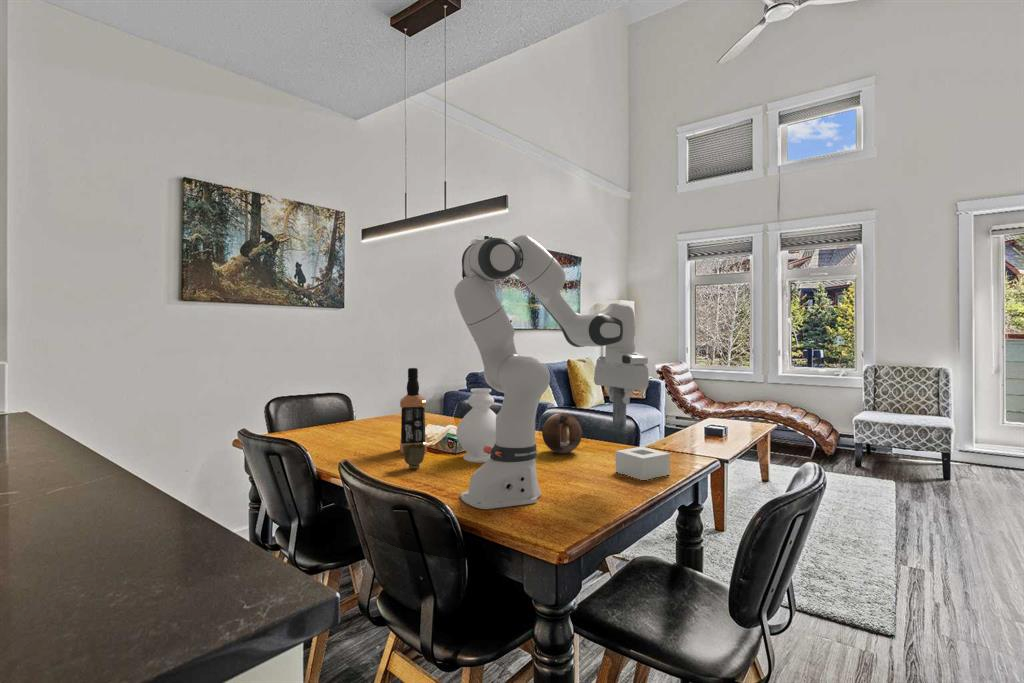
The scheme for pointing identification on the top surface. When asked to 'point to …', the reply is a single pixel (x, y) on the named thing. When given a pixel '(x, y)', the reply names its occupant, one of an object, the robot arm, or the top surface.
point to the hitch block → (642, 463)
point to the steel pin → (619, 407)
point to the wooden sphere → (562, 433)
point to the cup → (413, 455)
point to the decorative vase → (478, 426)
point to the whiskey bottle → (412, 413)
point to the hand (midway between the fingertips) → (619, 402)
